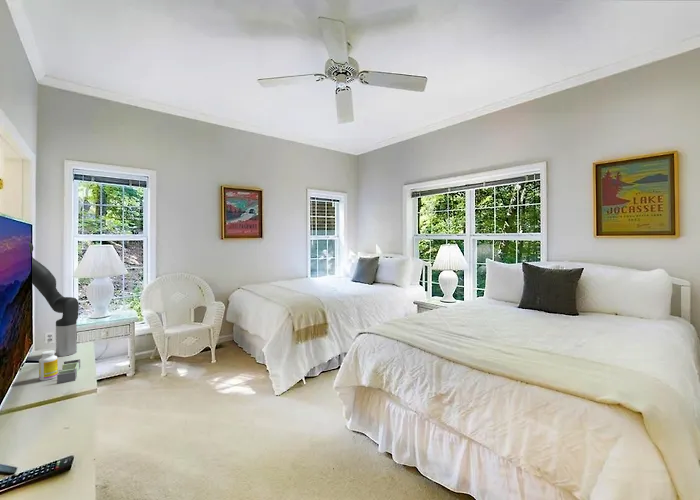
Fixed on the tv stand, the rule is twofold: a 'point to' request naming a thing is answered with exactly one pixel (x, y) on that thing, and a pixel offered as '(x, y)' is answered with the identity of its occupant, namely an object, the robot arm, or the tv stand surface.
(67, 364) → the bay rack
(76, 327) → the robot arm
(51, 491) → the tv stand surface
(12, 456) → the tv stand surface
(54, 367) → the supplement bottle
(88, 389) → the tv stand surface
